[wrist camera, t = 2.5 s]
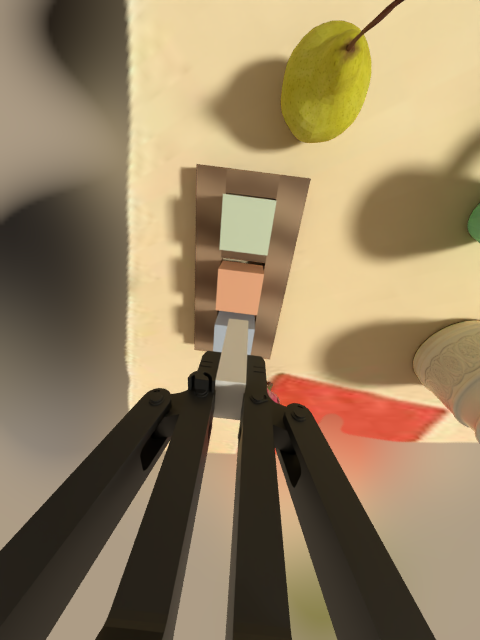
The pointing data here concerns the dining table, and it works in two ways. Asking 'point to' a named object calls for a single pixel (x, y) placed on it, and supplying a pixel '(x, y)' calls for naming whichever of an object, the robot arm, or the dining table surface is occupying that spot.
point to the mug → (474, 223)
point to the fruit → (327, 79)
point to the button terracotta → (239, 287)
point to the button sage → (246, 224)
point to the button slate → (222, 327)
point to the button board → (209, 257)
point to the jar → (453, 370)
